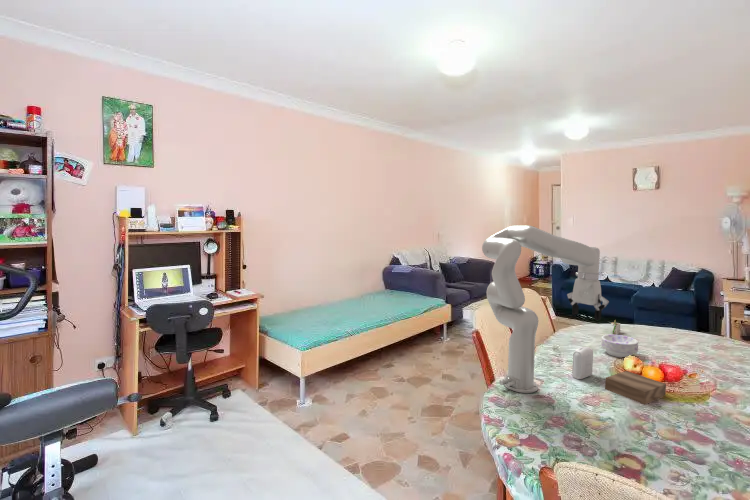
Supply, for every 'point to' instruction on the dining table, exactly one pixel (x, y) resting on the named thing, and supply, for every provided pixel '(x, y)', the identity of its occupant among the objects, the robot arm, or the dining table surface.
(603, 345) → the paper bowls
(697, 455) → the dining table surface
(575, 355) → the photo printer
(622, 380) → the walnut block
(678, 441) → the dining table surface
